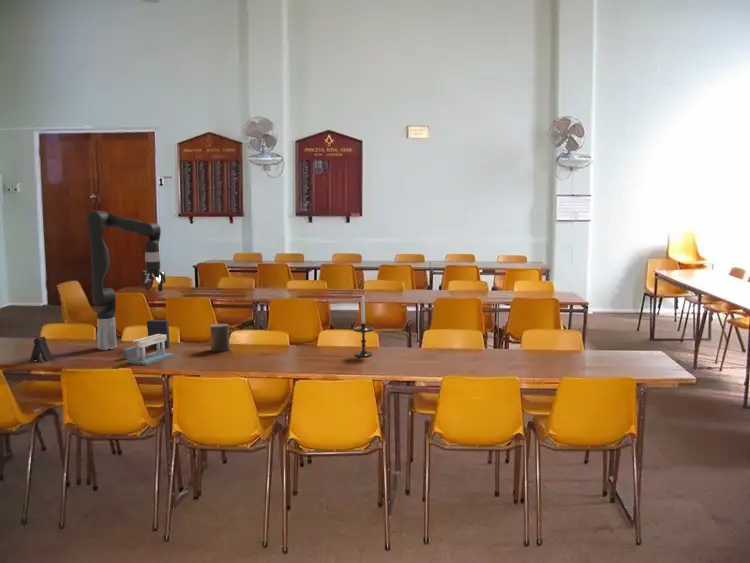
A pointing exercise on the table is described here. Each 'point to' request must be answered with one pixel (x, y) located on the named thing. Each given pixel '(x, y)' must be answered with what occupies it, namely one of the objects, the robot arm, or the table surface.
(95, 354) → the table surface
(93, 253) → the robot arm
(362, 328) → the candlestick
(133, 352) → the block
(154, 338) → the shelf board
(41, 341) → the phone stand
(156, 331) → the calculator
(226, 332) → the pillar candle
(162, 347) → the peg stand
